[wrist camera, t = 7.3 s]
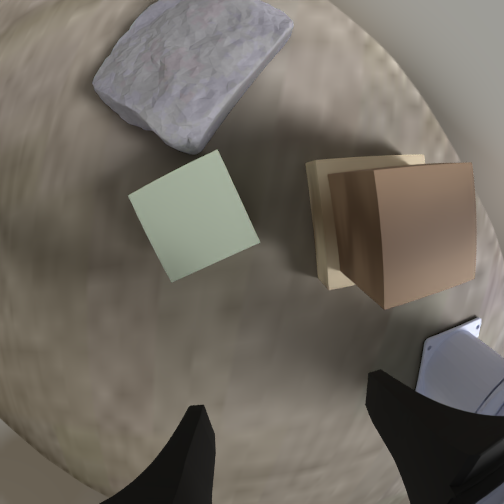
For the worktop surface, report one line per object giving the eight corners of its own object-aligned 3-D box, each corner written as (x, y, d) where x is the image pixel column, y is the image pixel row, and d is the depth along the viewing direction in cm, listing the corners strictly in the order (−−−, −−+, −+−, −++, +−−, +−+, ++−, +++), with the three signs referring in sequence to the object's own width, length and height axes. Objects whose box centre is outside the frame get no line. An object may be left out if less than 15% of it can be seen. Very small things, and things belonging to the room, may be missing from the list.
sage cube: (253, 227, 19) (260, 242, 14) (186, 258, 19) (171, 282, 15) (221, 158, 18) (217, 149, 13) (153, 192, 18) (128, 195, 13)
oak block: (408, 257, 21) (429, 268, 18) (316, 275, 21) (328, 290, 18) (401, 157, 19) (423, 154, 16) (303, 163, 19) (315, 160, 16)
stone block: (105, 112, 18) (205, 170, 18) (69, 90, 14) (182, 153, 13) (194, 4, 17) (301, 42, 17) (179, -32, 12) (305, 2, 12)
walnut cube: (417, 252, 18) (474, 278, 12) (340, 271, 18) (384, 309, 12) (409, 164, 16) (471, 162, 10) (327, 174, 16) (373, 170, 10)
